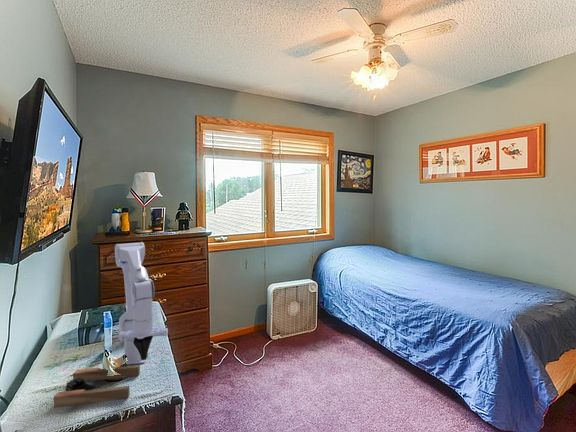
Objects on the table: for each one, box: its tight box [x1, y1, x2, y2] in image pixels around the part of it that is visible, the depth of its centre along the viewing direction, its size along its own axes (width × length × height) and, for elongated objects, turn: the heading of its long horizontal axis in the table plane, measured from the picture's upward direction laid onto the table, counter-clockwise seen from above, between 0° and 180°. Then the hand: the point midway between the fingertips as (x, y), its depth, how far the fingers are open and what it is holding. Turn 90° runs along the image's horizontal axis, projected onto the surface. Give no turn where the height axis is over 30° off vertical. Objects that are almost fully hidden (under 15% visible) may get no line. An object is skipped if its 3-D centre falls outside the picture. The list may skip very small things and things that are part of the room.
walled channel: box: [53, 364, 141, 408], centre depth 98 cm, size 14×20×3 cm
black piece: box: [65, 377, 96, 391], centre depth 96 cm, size 12×7×5 cm, turn 155°
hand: (144, 358), depth 101 cm, fingers closed
